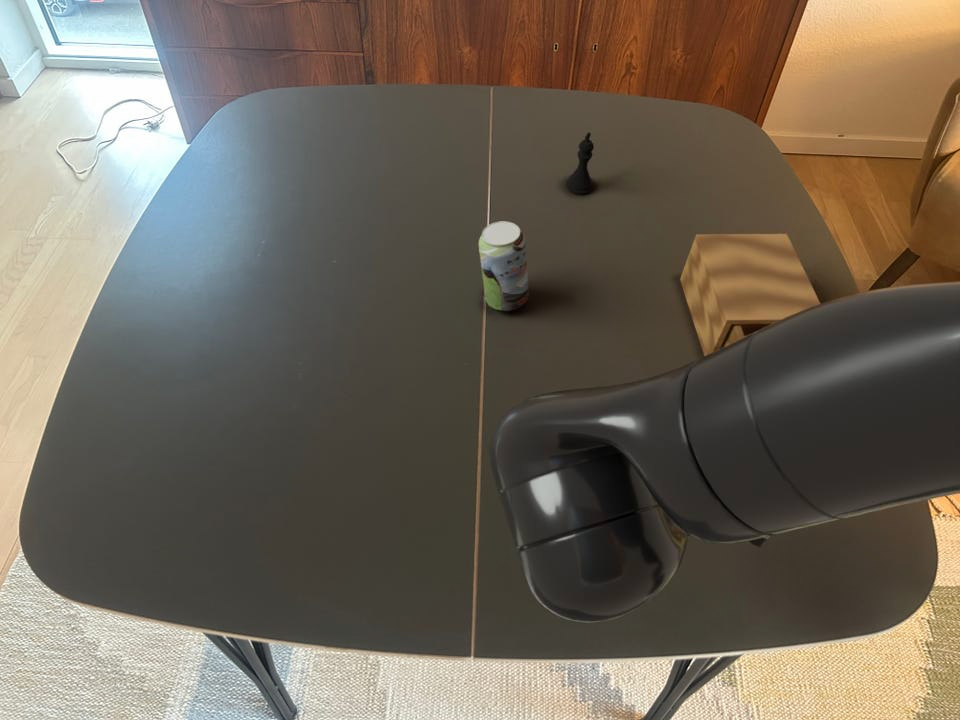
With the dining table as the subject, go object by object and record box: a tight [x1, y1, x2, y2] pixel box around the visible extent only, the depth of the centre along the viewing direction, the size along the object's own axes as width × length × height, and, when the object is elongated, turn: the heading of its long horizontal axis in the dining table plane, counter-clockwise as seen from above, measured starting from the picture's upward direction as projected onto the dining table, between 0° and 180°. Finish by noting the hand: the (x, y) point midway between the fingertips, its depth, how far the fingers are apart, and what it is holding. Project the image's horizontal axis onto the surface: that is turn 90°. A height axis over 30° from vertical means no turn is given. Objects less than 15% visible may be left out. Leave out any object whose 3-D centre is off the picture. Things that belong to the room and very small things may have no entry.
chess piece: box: [565, 131, 595, 196], centre depth 111 cm, size 4×4×10 cm
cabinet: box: [679, 233, 821, 357], centre depth 95 cm, size 16×13×9 cm
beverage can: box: [478, 220, 530, 312], centre depth 94 cm, size 6×7×12 cm
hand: (719, 467), depth 62 cm, fingers closed on pill bottle, 5 cm apart
